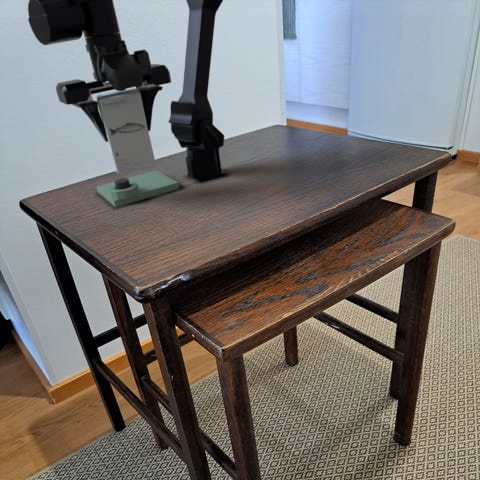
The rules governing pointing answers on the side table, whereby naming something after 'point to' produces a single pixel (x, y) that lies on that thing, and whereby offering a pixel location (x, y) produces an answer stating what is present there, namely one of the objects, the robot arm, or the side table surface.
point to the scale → (138, 188)
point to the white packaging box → (126, 130)
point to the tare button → (122, 183)
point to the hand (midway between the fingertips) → (127, 136)
